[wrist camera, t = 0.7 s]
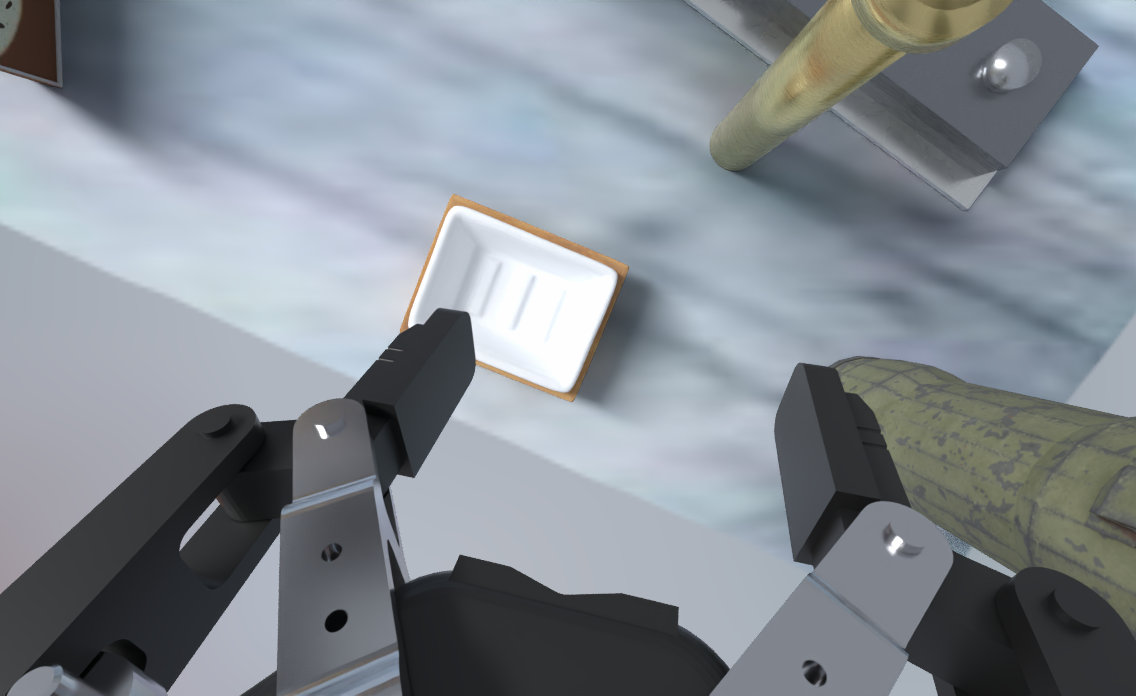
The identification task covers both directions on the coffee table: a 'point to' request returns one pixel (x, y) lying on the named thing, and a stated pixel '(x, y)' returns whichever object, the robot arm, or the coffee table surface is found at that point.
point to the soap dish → (519, 295)
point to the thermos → (1011, 472)
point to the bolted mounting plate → (940, 87)
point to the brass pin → (838, 66)
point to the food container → (31, 40)
